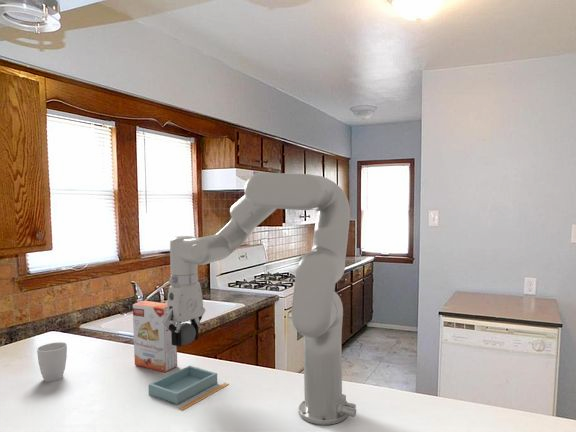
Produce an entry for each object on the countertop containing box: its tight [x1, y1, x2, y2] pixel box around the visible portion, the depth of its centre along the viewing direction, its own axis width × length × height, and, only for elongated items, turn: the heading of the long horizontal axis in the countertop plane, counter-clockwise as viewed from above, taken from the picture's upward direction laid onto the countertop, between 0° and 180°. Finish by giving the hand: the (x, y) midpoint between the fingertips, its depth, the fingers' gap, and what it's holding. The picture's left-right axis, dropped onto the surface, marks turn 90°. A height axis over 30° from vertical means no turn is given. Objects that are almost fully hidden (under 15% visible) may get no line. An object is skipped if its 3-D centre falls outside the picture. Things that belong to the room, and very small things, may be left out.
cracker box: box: [132, 300, 178, 373], centre depth 138 cm, size 14×6×21 cm, turn 62°
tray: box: [147, 365, 230, 411], centre depth 120 cm, size 15×18×3 cm
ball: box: [179, 322, 196, 346], centre depth 120 cm, size 6×6×6 cm
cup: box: [36, 341, 68, 383], centre depth 130 cm, size 8×8×10 cm
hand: (185, 341), depth 120 cm, fingers closed on ball, 5 cm apart
